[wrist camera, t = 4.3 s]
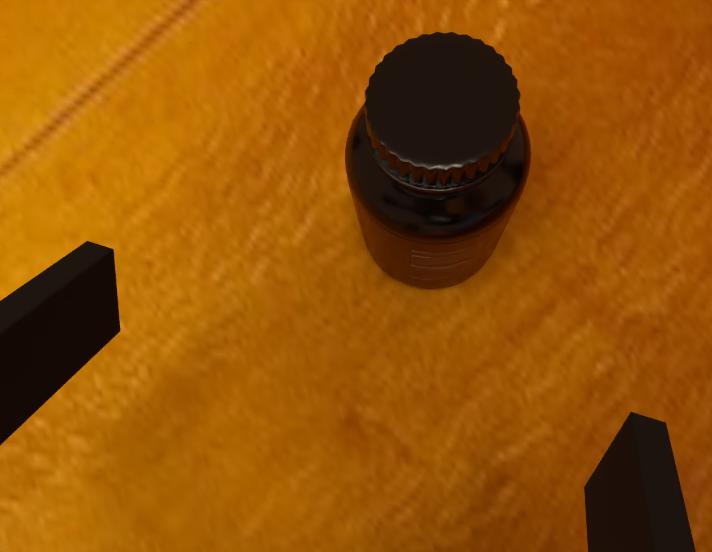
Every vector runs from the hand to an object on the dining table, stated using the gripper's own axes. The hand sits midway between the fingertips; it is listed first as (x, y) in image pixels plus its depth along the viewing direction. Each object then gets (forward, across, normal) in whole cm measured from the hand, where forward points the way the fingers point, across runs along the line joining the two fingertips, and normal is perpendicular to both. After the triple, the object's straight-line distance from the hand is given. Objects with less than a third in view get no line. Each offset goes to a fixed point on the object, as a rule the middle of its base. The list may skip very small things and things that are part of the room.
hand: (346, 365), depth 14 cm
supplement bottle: (+16, 0, -4) cm, 16 cm away
